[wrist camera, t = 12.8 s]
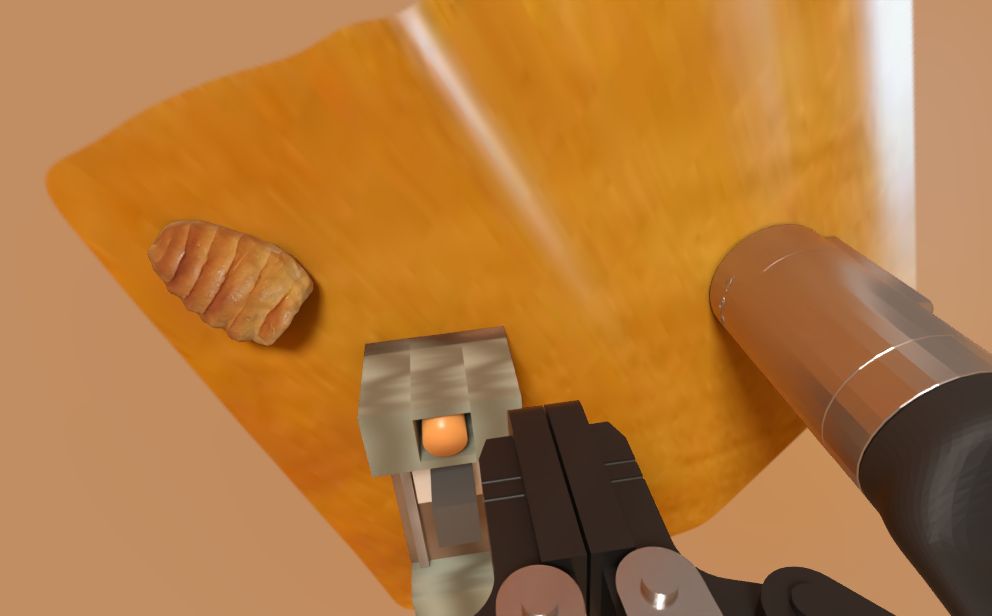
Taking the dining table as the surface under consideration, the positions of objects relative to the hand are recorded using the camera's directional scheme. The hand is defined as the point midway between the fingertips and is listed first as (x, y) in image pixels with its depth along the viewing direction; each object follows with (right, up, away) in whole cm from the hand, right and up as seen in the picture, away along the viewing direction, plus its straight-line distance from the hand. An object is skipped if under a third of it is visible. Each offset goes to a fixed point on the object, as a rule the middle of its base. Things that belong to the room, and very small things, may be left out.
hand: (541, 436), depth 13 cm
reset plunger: (-5, -3, +30) cm, 31 cm away
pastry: (-18, +5, +27) cm, 32 cm away
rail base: (-4, -11, +38) cm, 40 cm away
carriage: (-4, -8, +34) cm, 35 cm away
